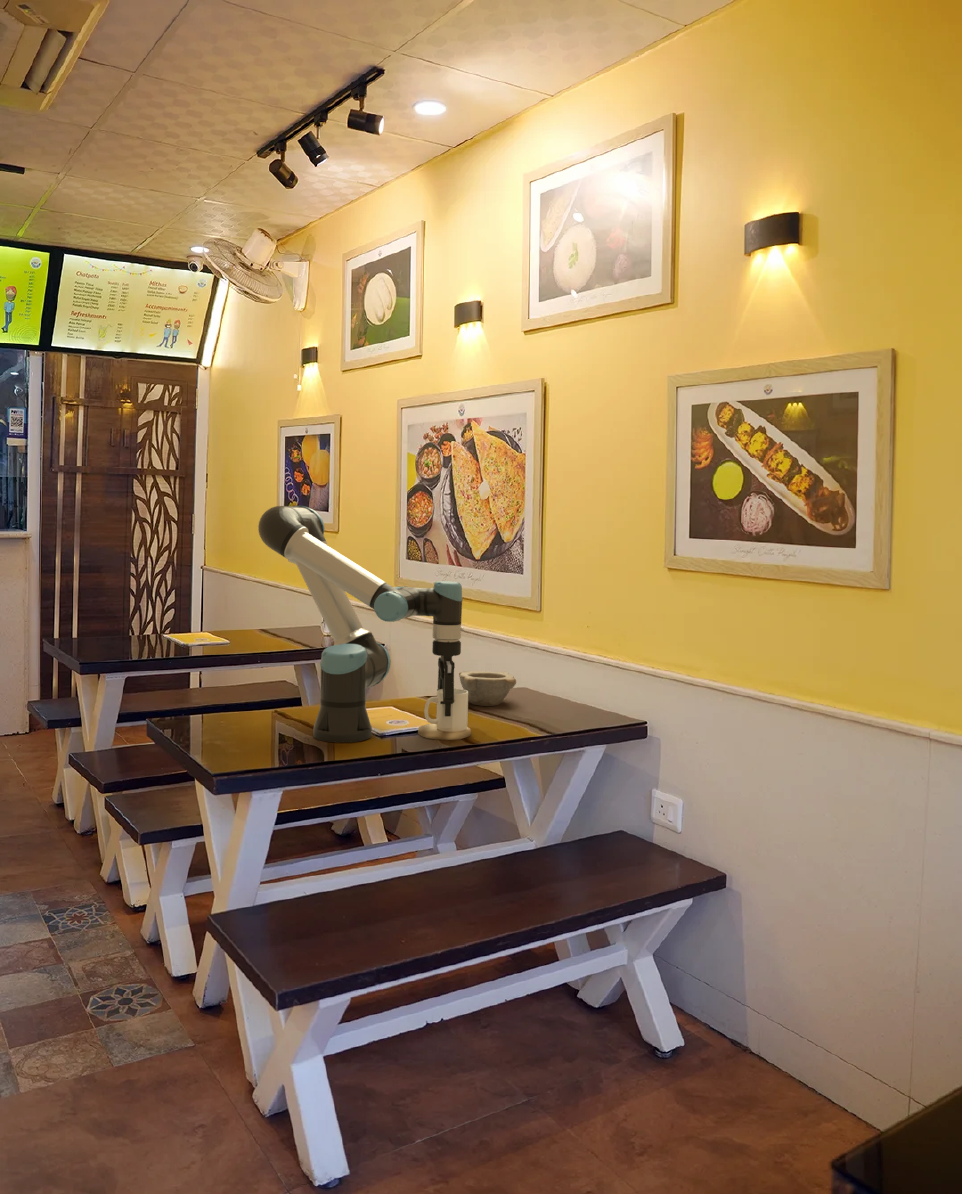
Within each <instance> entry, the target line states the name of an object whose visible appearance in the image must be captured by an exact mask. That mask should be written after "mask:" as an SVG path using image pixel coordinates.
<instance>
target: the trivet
mask: <svg viewBox="0 0 962 1194" xmlns="http://www.w3.org/2000/svg"><path fill="white" fill-rule="evenodd" d="M417 730H418V731H417V733H418V735H419V736H420V737H424V738H425V739H431V740H439V741H440V740H441V741H445V740H446V741H448V740H449V741H452V740H454V741H455V740H461V739H462V740H463V739H466V738H469V737H470V736H471V731H472V729H471V728H470V727H468V726H467V729H466V730H464V731H460V732H445V731H440V730H438V729H437V726H436V724H431V723H428V724H423V725H421V726H419V727H418V728H417Z"/></svg>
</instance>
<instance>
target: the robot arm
mask: <svg viewBox="0 0 962 1194" xmlns="http://www.w3.org/2000/svg"><path fill="white" fill-rule="evenodd" d="M257 527H258V530H257V531H258V534H259V537H260V540H261V541H262V542H263V543H264V544H265V546H266V547H268V548H269V549H270V550H272V551H274V552H275V553H277V554H278V555H281V556H282V557H283V558H285V559H287V560H288V562H289V563H292V564H294V565H296V566H297V568H298V569H297V570H298V571H299V572H300V575H301V577H302V578H303V580H304V583H305V584H306V587H307V588H308V590H309V592H310V595H311V597H312V599H313V600H314V603H315V605H316V606H317V608H318V612H320V615H321V617H322V619H323V621H324V623H325V625H326V627H327V629H328V631H329V634H330V636H331V637H332V639H333V641H334V645H330V646H328V647H326V648H324V649H323V651H322V652H321V658H320V663H319V666H320V705H319V706H320V707H319V710H318V713H317V716H316V719H315V721H314V724H313V730H312V731H313V733H312V737H313V738H314V739H316V740H318V741H322V742H328V743H354V742H362V741H366V740H368V739H370V738H372V736H373V731H372V730H373V728H372V724H371V720H370V718H369V715H368V712H367V711H368V710H367V708H366V704H367V703H366V698H367V697H366V695H367V693H366V692H367V689H368V688H370V687H371V688H372V687H374V686H376V685H378V684H380V683H381V682H382V681H383V680H384V679H385V678H386V677H387V676H388V674H389V672H390V669H391V663H392V662H391V660H392V659H391V655H390V653H389V651H388V650H387V648H386V647H385V646H384V645H382V644H381V643H379V642H378V641H376V639H375V637H374V635H373V633H372V631H371V630H368V629H366V628H364V626H363V624H362V623H361V621H360V619H359V617H358V615H357V613H356V611H355V609H354V607H353V605H352V602H351V601H350V599H349V597H348V595H347V594H349V596H352V598H353V597H354V598H355V599H357V600H358V601H359V602H361V603H362V604H364V605H366V606H368V607H369V608H370V609H372V610H374V613H375V615H376V616H377V617H378V618H379V619H380V620H382V621H383V622H387V623H388V622H389V623H390V622H393V623H394V622H399V621H401V620H403V619H406V618H411V617H413V616H414V617H415V616H418V617H432V619H433V620H432V638H433V639H434V640H433V641H432V648H431V649H432V655H435V656H439V657H438V659H437V660H438V661H437V665H438V667H437V668H438V670H437V689H436V692H437V691H438V690H440V689H443V701H441V702H440V704H442V728H452V715H453V703H454V689H455V680H454V679H455V668H456V667H455V665H456V664H455V662H454V660H453V657H454V656H455V657H456V656H457V657H458V656H460V655H461V653H462V641H461V638H462V632H463V631H464V627H463V626H462V616H463V615H462V611H463V586H462V583H460V582H458V581H454V580H453V581H451V580H450V581H449V580H438V581H435V582H434V583H433V586H432V587H431V588H430V587H429V588H428V587H427V588H425V587H414V586H413V587H411V586H406V585H405V586H392V585H390V584H389V583H388V582H386V581H385V580H383V579H381V578H380V577H378V576H376V575H375V574H374V573H372V572H370V571H368V570H367V569H366V568H364V567H362V566H361V565H359V564H357V563H356V562H354V561H353V560H351V559H350V558H348V557H346V556H345V555H343V554H341V553H340V552H339V551H337V550H336V549H334V548H333V547H330V546H329V545H328V542H327V540H326V537H325V534H324V532H325V531H326V529H325V524H324V521H323V518H322V517H321V515H320V514H319V513H318V512H317V511H316V510H315V509H313V508H310V507H309V506H304V505H291V506H288V505H277V506H273V507H270V508H268V509H267V510H266V511H264V512H263V514H262V515H261V517H260V518H259V521H258V525H257Z"/></svg>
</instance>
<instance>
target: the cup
mask: <svg viewBox="0 0 962 1194" xmlns="http://www.w3.org/2000/svg"><path fill="white" fill-rule="evenodd" d="M441 701H443V689H440V690H438V691H437V690H436V696H431V697H429V698H428V699H427V700H426V702H425V705H424V711H423V712H424V713H423V714H424V719H425V720H426V722H428V724H436V726H437V729H438V730H440V731H445V732H460V731H464V730H466V729H467V727H468V717H469V716H468V713H469V711H468V710H469V700H468V691H467V690H463V688H454V703H453V715H452V728H442V704H440V702H441ZM432 702H433V703H434V702H436V716H435V717H436V718H431V717H430V714H429V709H430V708H429V707H430V705H431V703H432Z"/></svg>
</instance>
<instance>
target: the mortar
mask: <svg viewBox="0 0 962 1194" xmlns="http://www.w3.org/2000/svg"><path fill="white" fill-rule="evenodd" d="M458 676H459V682H460V683H461V688H462V689H463V690H467V691H468V702H470V704H471V705H476V706H483V707H493V706H498V705H501V704H502V703H503V701H505V698H506V697H507V696H508V694H509V693H510V691H511V690H512V689H513V688H515V686H516V685H517V680H516V678H515V677H514V675H512V674H510V673H509V672H507V671H506V672H505V671H482V670H481V671H478V670H477V671H475V670H474V671H471V670H470V671H469V670H468V671H467V670H465V671H463V670H462V671H459V673H458Z"/></svg>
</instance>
